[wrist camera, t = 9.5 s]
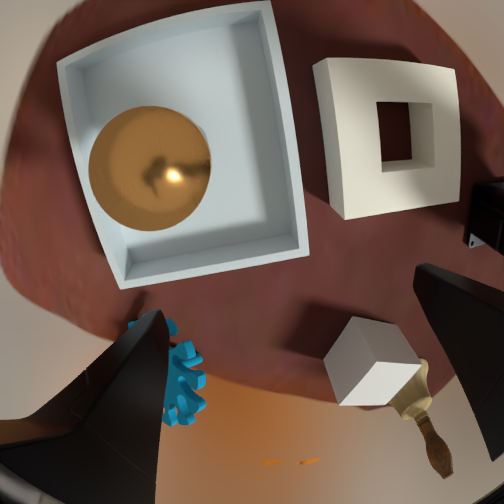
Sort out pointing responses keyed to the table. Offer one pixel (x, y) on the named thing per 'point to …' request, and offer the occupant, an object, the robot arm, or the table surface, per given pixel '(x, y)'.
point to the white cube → (370, 362)
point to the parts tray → (216, 129)
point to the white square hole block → (368, 139)
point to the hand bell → (423, 418)
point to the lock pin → (150, 167)
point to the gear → (182, 382)
